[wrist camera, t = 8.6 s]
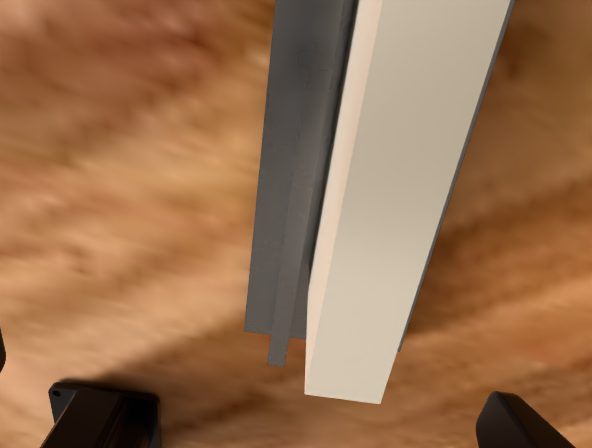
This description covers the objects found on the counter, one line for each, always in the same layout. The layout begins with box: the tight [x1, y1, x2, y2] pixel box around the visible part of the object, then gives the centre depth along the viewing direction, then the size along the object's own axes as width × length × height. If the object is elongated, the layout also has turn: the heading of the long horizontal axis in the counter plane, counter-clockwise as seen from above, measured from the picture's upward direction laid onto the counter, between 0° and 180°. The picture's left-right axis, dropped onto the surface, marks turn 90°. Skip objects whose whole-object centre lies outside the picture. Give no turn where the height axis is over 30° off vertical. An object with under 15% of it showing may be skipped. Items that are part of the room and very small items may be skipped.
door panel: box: [304, 0, 510, 404], centre depth 13 cm, size 12×3×7 cm, turn 172°
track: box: [244, 0, 515, 367], centre depth 16 cm, size 20×8×3 cm, turn 172°
